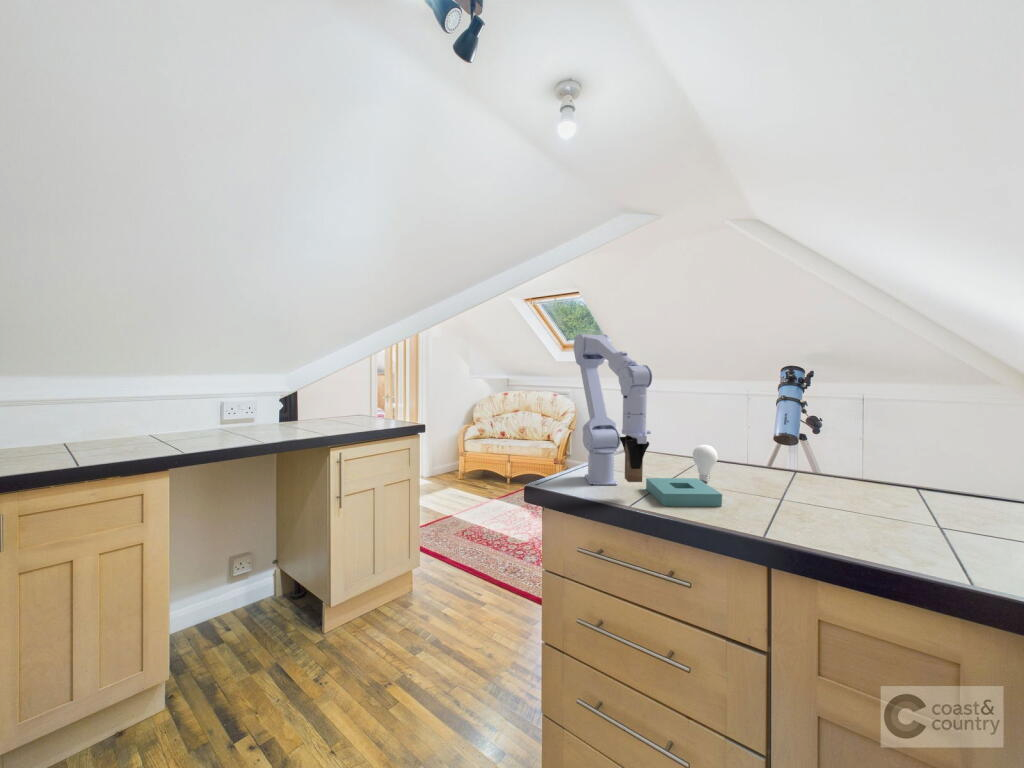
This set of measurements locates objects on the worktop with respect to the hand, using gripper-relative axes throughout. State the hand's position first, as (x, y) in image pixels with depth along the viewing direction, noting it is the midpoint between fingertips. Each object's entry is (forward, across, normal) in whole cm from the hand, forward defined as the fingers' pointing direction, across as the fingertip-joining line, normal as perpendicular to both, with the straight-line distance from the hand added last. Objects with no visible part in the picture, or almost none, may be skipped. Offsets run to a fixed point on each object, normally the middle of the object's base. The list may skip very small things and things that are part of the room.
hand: (633, 466), depth 106 cm
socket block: (+8, +2, -13) cm, 16 cm away
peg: (+3, 0, 0) cm, 3 cm away
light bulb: (+9, +16, -25) cm, 31 cm away
